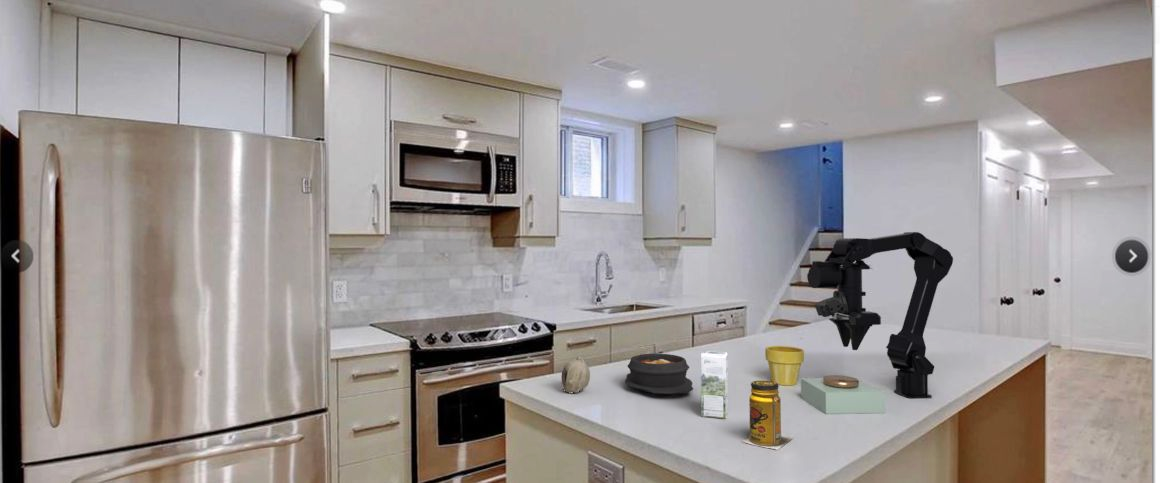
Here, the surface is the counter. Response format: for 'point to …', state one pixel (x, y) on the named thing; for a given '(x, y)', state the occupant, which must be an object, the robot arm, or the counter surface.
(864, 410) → the base
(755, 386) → the condiment
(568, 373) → the garlic bulb
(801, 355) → the plant pot
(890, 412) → the counter surface
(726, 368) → the syrup box
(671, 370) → the casserole
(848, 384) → the copper round dome
